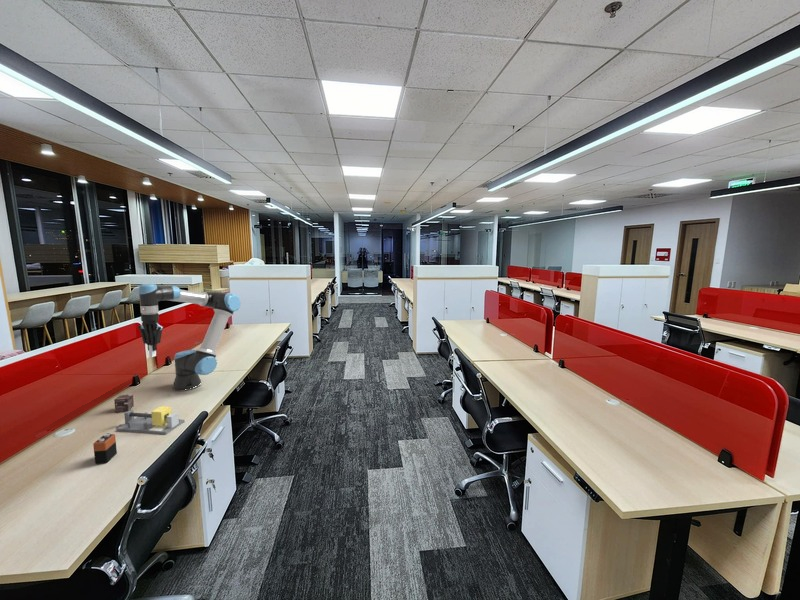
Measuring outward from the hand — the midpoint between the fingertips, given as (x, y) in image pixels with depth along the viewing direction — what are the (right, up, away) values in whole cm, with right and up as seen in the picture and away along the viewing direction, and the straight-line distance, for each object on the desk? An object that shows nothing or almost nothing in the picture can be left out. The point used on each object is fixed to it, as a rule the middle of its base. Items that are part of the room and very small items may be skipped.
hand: (152, 356), depth 176 cm
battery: (+12, -36, -41) cm, 55 cm away
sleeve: (+16, -30, -16) cm, 37 cm away
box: (-16, -29, +1) cm, 34 cm away
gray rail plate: (+11, -32, -15) cm, 37 cm away
